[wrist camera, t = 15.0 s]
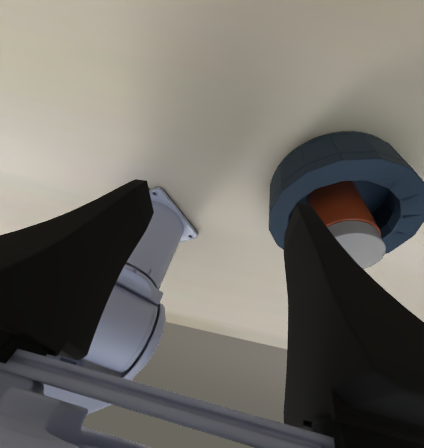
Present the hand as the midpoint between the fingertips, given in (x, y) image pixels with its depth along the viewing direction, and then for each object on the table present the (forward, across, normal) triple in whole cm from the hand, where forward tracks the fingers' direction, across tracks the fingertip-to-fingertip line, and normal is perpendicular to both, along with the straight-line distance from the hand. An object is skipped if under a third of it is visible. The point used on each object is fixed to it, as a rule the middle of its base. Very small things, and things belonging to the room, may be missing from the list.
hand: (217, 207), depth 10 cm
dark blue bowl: (+10, -8, +4) cm, 14 cm away
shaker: (+9, -9, +4) cm, 13 cm away
